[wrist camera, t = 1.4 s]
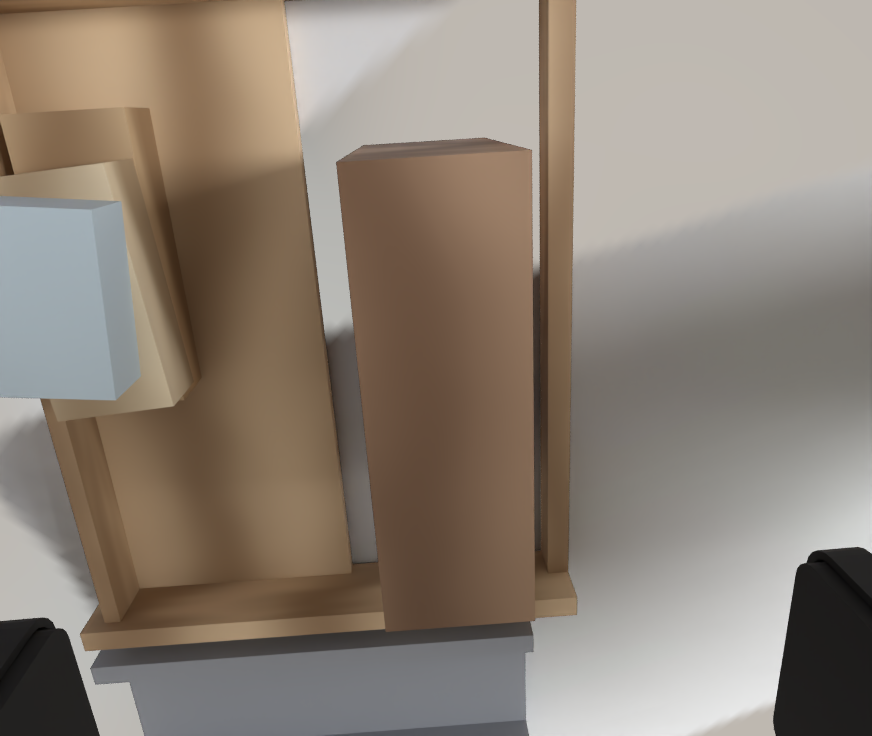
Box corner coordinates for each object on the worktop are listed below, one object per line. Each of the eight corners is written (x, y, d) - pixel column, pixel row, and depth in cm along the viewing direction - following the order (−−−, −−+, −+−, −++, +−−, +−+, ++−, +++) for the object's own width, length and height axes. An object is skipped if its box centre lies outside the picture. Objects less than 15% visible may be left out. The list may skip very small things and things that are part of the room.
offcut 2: (149, 108, 21) (123, 107, 19) (201, 378, 24) (184, 400, 22) (35, 115, 21) (-2, 114, 19) (102, 384, 24) (77, 407, 22)
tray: (565, -46, 20) (590, -72, 17) (559, 565, 28) (577, 614, 25) (-49, -11, 20) (-124, -32, 17) (117, 597, 28) (85, 651, 25)
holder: (522, 589, 28) (533, 635, 26) (524, 723, 31) (534, 777, 29) (119, 619, 28) (90, 668, 26) (155, 751, 31) (133, 808, 28)
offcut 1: (121, 200, 18) (91, 209, 16) (141, 376, 20) (115, 400, 18) (-3, 195, 18) (-47, 204, 16) (28, 372, 19) (-8, 397, 18)
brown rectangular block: (484, 137, 22) (531, 149, 14) (494, 460, 26) (535, 620, 18) (363, 145, 22) (336, 162, 14) (392, 467, 26) (385, 632, 18)
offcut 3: (132, 158, 19) (103, 162, 18) (193, 381, 22) (174, 406, 20) (13, 174, 19) (-30, 181, 18) (87, 395, 22) (57, 421, 20)
